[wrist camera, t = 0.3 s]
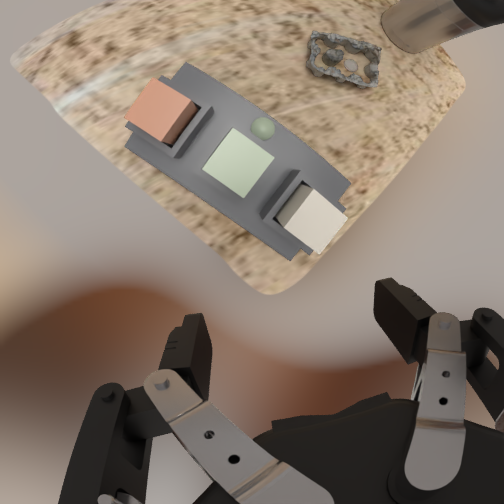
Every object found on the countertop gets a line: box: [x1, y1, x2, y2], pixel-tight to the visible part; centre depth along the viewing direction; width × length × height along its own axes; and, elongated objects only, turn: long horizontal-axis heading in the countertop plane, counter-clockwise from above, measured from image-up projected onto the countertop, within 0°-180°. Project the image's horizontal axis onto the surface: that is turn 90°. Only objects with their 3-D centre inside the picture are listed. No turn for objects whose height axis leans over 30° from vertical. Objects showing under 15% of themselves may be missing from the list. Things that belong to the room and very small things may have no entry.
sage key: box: [202, 128, 274, 198], centre depth 28 cm, size 5×5×6 cm
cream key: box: [275, 184, 348, 255], centre depth 31 cm, size 5×5×6 cm
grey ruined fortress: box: [306, 31, 381, 89], centre depth 29 cm, size 11×8×4 cm
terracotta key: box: [124, 78, 198, 145], centre depth 26 cm, size 5×5×6 cm
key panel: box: [124, 62, 351, 261], centre depth 32 cm, size 14×28×6 cm, turn 53°
